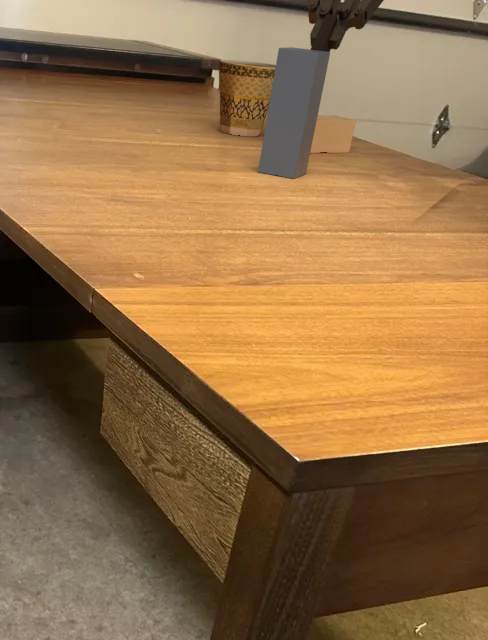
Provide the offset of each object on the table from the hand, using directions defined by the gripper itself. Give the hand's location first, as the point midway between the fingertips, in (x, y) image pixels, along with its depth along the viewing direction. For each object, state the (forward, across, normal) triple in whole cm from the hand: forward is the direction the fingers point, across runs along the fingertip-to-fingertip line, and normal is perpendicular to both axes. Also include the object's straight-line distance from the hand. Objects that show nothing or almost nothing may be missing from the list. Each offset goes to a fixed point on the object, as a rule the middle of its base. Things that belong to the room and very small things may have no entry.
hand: (313, 65), depth 104 cm
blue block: (+12, 0, -5) cm, 13 cm away
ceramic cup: (-9, +18, -26) cm, 33 cm away
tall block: (-9, 0, -24) cm, 25 cm away
